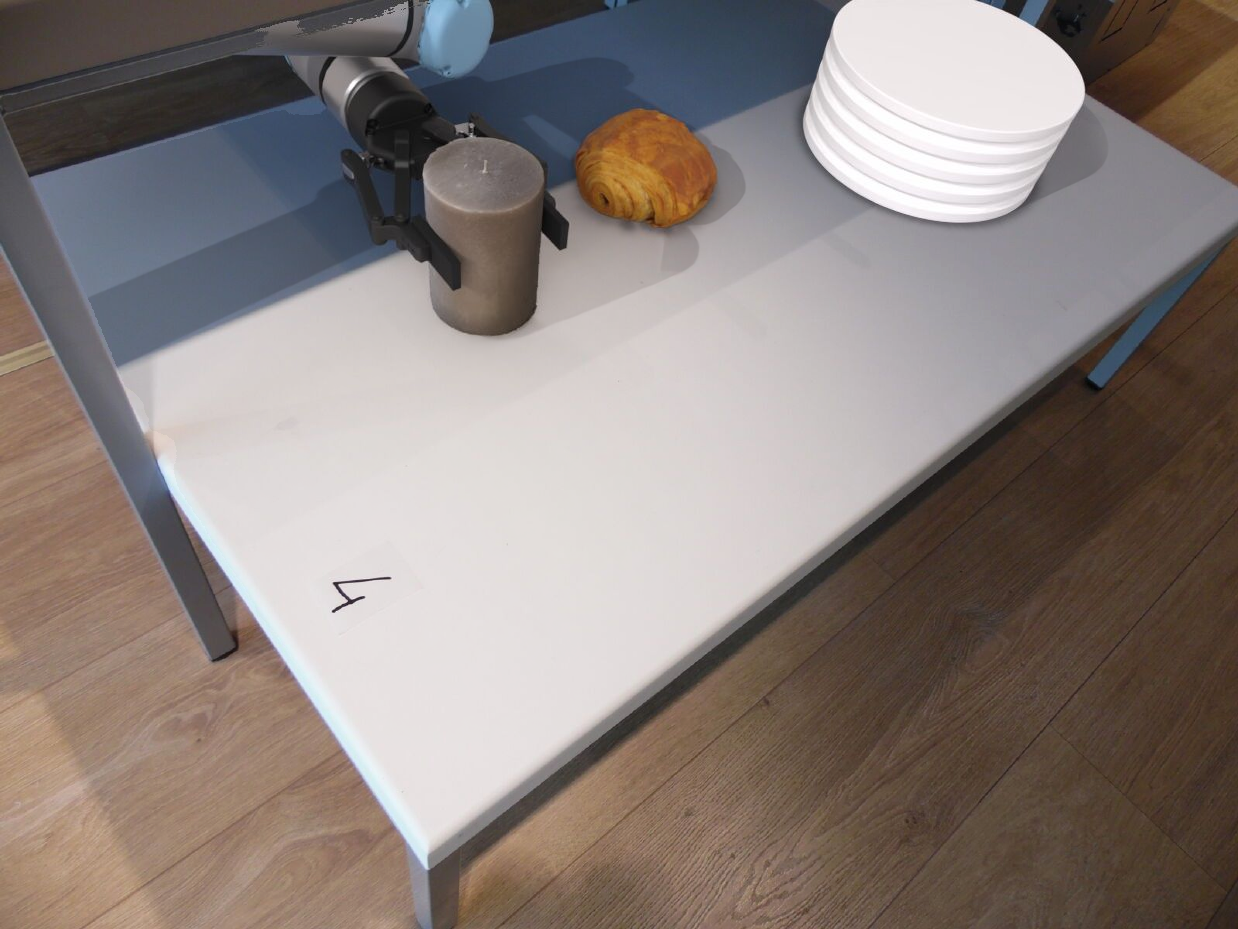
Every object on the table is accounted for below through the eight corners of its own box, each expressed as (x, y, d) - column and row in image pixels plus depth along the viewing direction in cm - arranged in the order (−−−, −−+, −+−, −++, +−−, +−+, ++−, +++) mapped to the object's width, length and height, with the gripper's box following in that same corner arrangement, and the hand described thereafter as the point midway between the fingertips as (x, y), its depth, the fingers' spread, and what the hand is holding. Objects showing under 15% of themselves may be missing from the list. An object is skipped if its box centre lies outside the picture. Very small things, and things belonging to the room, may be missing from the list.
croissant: (549, 204, 97) (545, 143, 90) (636, 127, 104) (639, 64, 97) (659, 267, 93) (664, 208, 86) (743, 182, 99) (754, 121, 92)
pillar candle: (557, 315, 83) (571, 177, 71) (461, 352, 79) (459, 212, 67) (502, 250, 87) (507, 109, 75) (409, 282, 83) (398, 139, 71)
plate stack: (800, 62, 117) (827, -30, 107) (1012, 99, 118) (1058, 12, 109) (805, 199, 100) (839, 104, 91) (1053, 241, 101) (1111, 152, 92)
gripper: (486, 115, 92) (616, 249, 82) (272, 177, 82) (391, 336, 73) (486, 44, 86) (627, 179, 76) (256, 102, 76) (384, 264, 67)
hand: (512, 256), depth 74 cm, fingers closed on pillar candle, 10 cm apart
